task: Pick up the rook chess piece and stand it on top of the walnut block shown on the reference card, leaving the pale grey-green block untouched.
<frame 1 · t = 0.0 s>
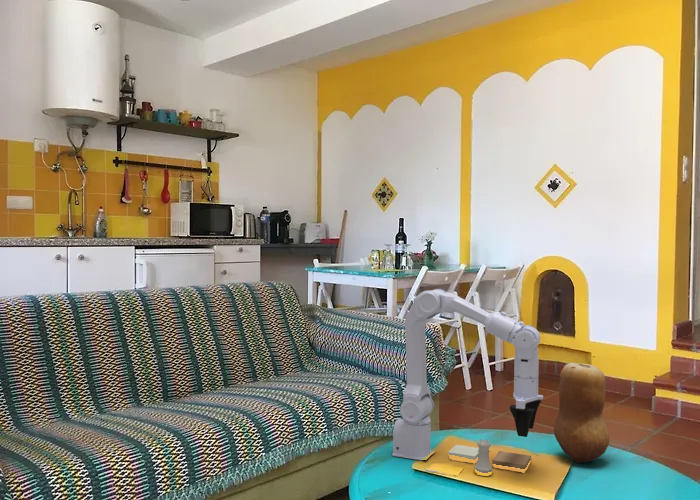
hand: (525, 432, 149), 10 cm above the table, fingers open, 7 cm apart
butternut squash: (580, 460, 160), on the table
walnut block: (511, 465, 155), on the table
reference card: (445, 469, 151), on the table
rook chess piece: (483, 474, 149), on the table
grey-green block: (465, 457, 160), on the table
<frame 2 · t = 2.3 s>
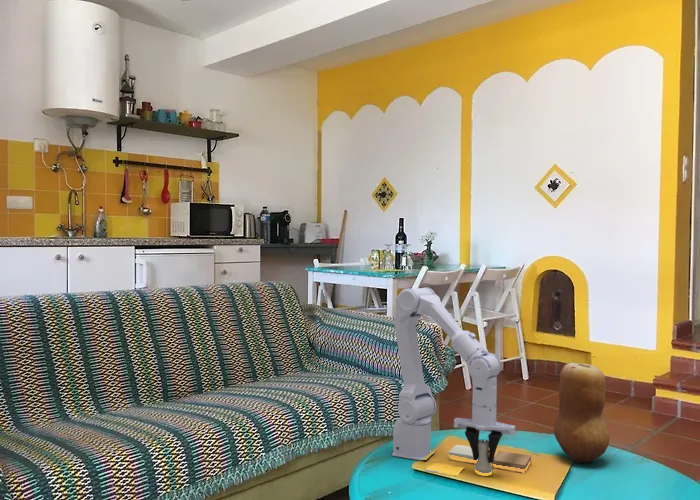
hand: (483, 460, 149), 3 cm above the table, fingers closed on rook chess piece, 3 cm apart
rook chess piece: (483, 474, 149), on the table, touching gripper
everything else where it was.
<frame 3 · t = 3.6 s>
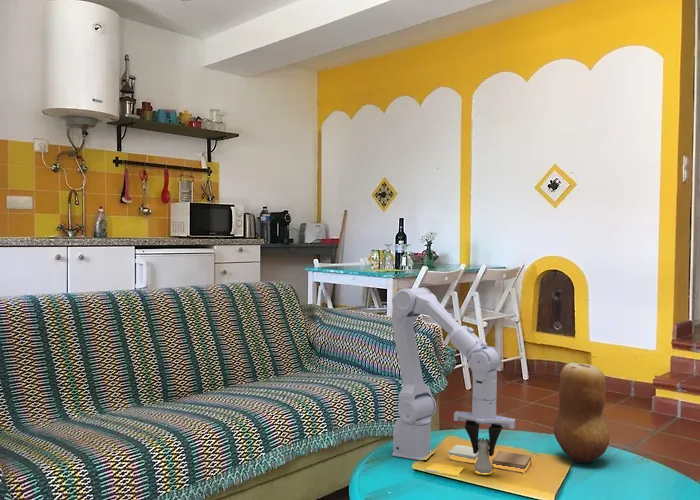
hand: (483, 453, 149), 5 cm above the table, fingers closed on rook chess piece, 3 cm apart
rook chess piece: (483, 473, 149), on the table, touching gripper
everything else where it was.
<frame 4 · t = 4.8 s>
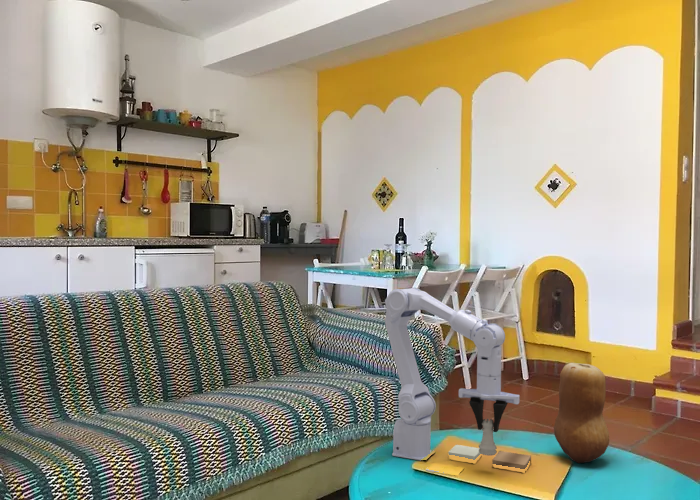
hand: (488, 429, 150), 10 cm above the table, fingers closed on rook chess piece, 3 cm apart
rook chess piece: (487, 453, 149), point 5 cm above the table, touching gripper
everything else where it was.
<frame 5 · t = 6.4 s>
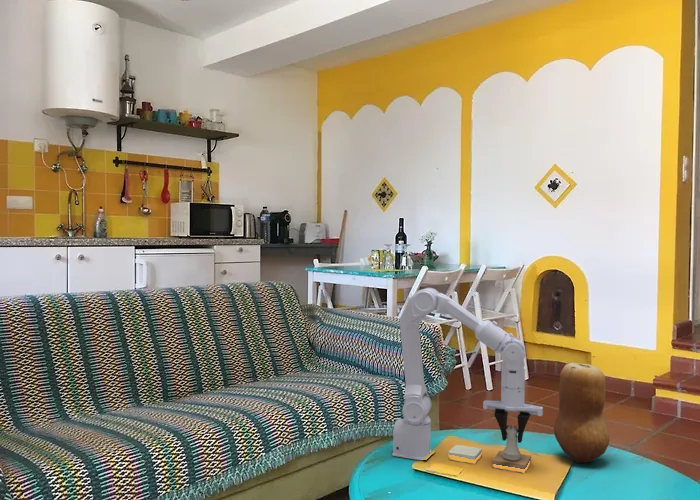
hand: (512, 440, 155), 6 cm above the table, fingers closed on rook chess piece, 3 cm apart
rook chess piece: (511, 459, 154), point 2 cm above the table, touching gripper, walnut block
everything else where it was.
when the fingers open (6 cm above the table, at t = 7.1 s): rook chess piece stays where it is, resting on walnut block.
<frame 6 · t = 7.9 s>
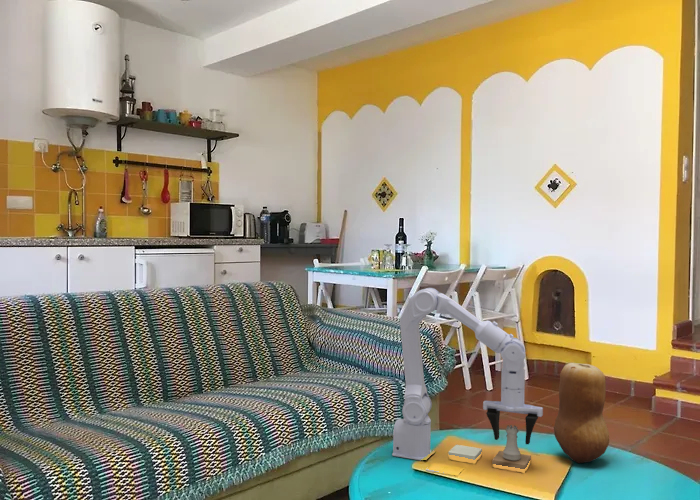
hand: (512, 441, 155), 6 cm above the table, fingers open, 7 cm apart
rook chess piece: (511, 459, 154), point 2 cm above the table, touching walnut block
everything else where it was.
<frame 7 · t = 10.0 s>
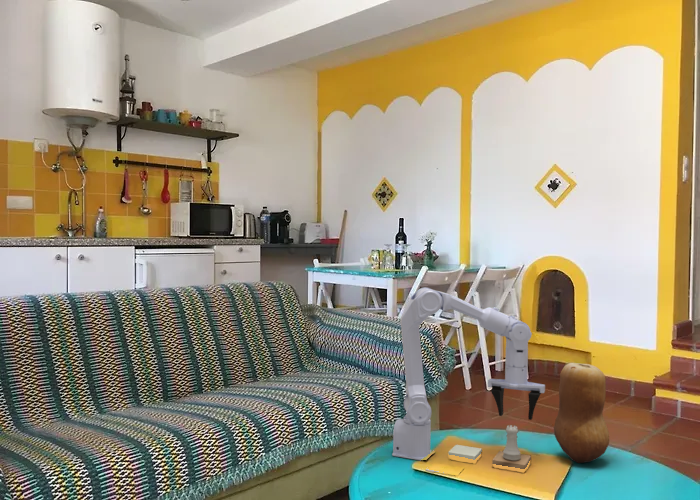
hand: (515, 416, 162), 10 cm above the table, fingers open, 7 cm apart
nothing on the table moved.
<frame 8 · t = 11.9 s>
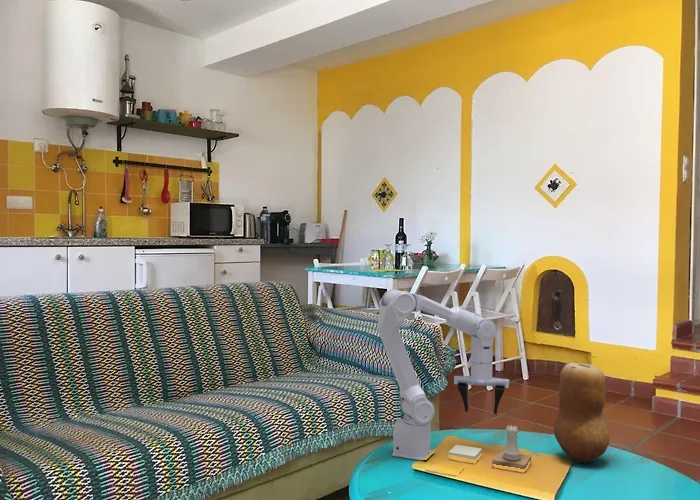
hand: (480, 412, 166), 10 cm above the table, fingers open, 7 cm apart
nothing on the table moved.
at the end: rook chess piece 0.5 cm off-centre on the walnut block, point 1.8 cm above the walnut block's base; rook chess piece tilted 0°; the gripper is holding nothing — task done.
